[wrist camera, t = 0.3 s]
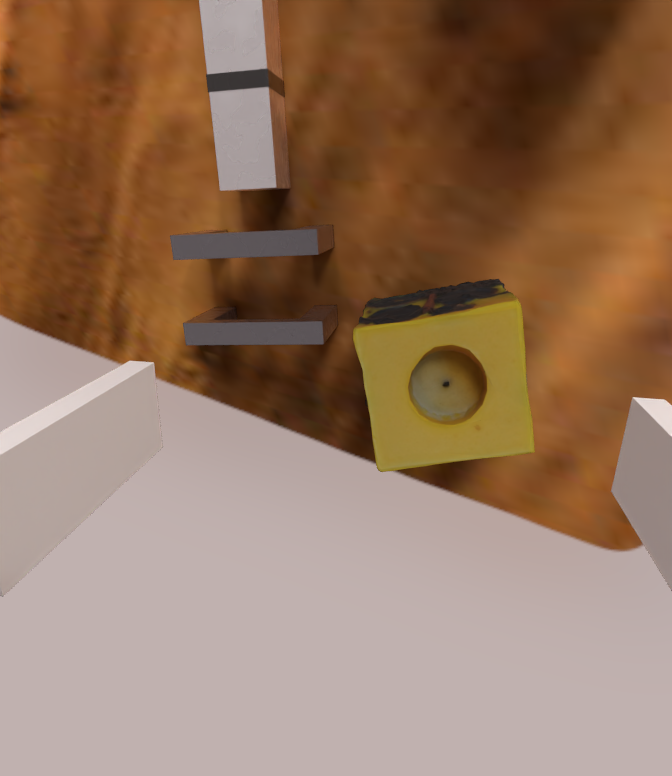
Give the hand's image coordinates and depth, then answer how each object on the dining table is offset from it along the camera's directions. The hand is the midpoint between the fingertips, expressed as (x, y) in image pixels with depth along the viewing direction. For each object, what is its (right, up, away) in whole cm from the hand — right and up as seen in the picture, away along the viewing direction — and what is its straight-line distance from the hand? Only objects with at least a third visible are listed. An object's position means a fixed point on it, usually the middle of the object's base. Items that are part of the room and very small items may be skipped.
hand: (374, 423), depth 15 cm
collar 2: (-6, +7, +28) cm, 29 cm away
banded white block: (-7, +23, +22) cm, 33 cm away
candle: (+7, +4, +27) cm, 28 cm away
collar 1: (-6, +12, +26) cm, 29 cm away
